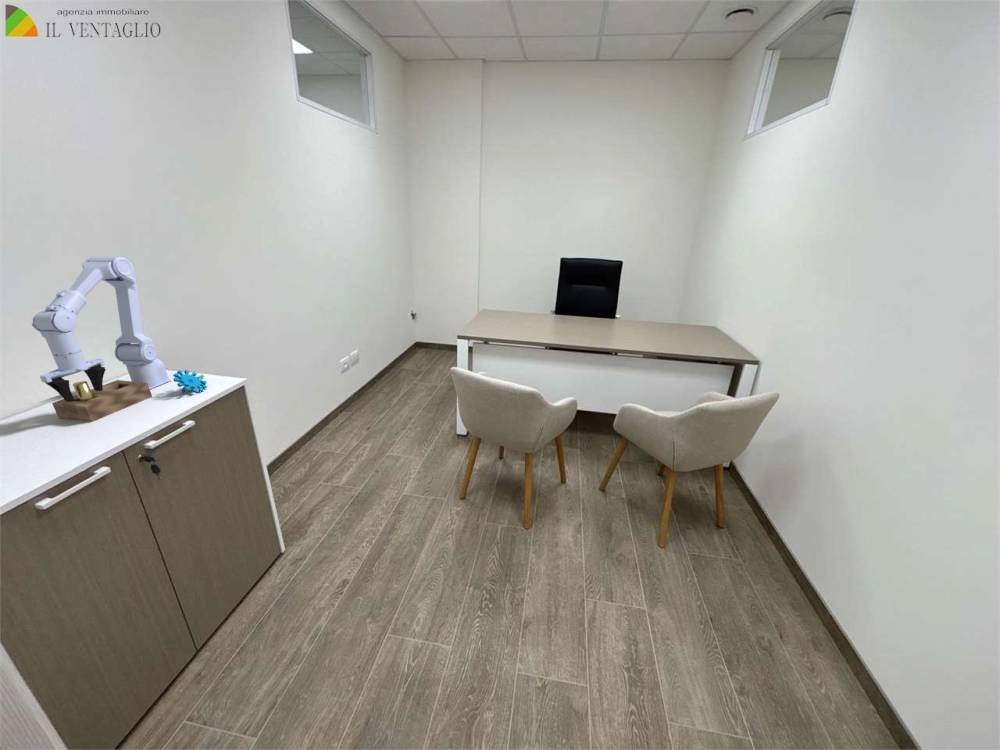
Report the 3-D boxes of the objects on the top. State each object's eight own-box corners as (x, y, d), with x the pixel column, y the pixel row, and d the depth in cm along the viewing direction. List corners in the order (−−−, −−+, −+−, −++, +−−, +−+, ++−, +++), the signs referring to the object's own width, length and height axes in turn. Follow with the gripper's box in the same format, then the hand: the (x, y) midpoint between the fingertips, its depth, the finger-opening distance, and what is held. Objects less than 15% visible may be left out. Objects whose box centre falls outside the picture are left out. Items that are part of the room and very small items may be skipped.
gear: (192, 393, 130) (167, 372, 129) (182, 405, 132) (157, 384, 130) (217, 384, 141) (194, 365, 140) (207, 395, 142) (185, 376, 141)
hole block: (122, 393, 134) (117, 380, 132) (152, 396, 132) (147, 382, 130) (58, 418, 117) (51, 403, 115) (91, 421, 115) (85, 406, 113)
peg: (93, 410, 122) (81, 380, 118) (101, 411, 122) (89, 381, 118) (82, 415, 119) (69, 384, 116) (91, 415, 119) (78, 385, 115)
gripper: (47, 361, 106) (67, 407, 111) (105, 346, 119) (121, 387, 124) (26, 360, 107) (47, 405, 112) (86, 344, 120) (103, 385, 125)
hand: (84, 395), depth 118 cm, fingers open, 7 cm apart
